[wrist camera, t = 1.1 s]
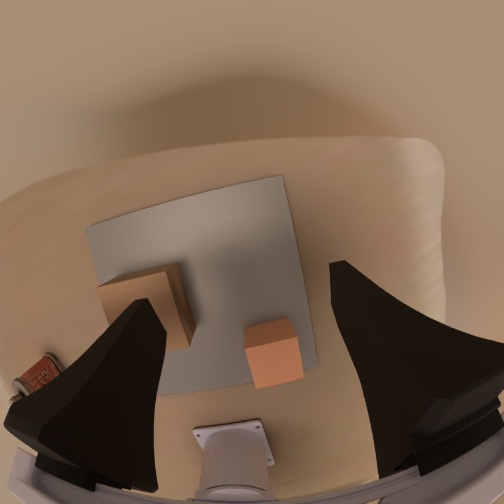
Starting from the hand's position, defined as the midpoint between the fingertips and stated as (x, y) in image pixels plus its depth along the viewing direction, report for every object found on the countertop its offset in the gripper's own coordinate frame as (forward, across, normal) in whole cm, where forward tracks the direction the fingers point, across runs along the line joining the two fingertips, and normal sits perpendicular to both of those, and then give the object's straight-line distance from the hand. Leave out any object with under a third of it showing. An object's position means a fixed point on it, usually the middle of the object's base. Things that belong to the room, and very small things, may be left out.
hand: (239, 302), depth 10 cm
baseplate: (+11, +5, +8) cm, 14 cm away
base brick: (+10, +9, +6) cm, 15 cm away
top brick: (+8, 0, +12) cm, 15 cm away
